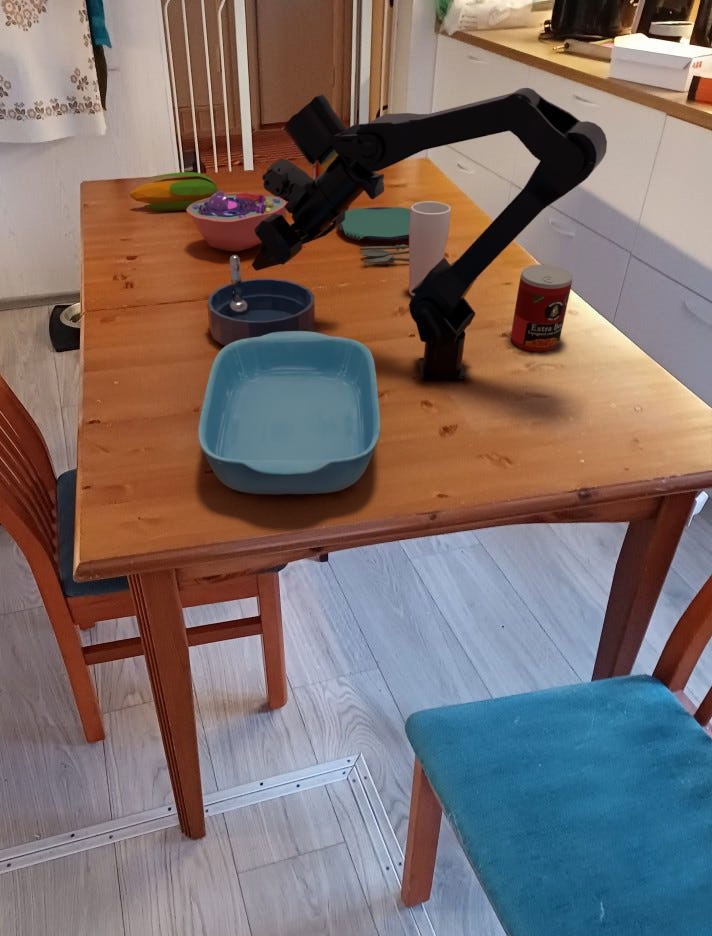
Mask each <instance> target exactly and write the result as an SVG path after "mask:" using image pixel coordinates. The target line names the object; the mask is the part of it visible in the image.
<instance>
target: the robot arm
mask: <svg viewBox="0 0 712 936" xmlns="http://www.w3.org/2000/svg"><path fill="white" fill-rule="evenodd" d="M283 130H284V132H285V133H286V134H287V135H288V137H289V138H290V140H291V141H292V142H293V144H294V145H295V146H296V147H297V149H298V150H299V152H300V153H301V154H302V155H303V157H304V158H305V159H306V161H307V162H308V163H309V164H310V165H312V166H313V165H314V164H315V163H316V162H317V161H318V162H319V164H320V165H323V164H325V163H326V162H327V161H329V160H330V159H331V158H332V157H333V156H334V155H335V154H336V153H337V154H338V156H337V157H336V158H335V159H334V161H333V162H332V163H331V164H330V165H329V166H328V167H327V168H326V169H325V170H324V171H323V172H322V173H321V175H320V176H318V177H317V178H316V179H315V180H314V179H313V177H311V176H310V175H309V174H308V173H307V172H306V171H305V170H303V169H301V168H300V167H299V166H297V165H295V164H294V163H293V162H291V161H290V160H289V159H285V158H281V159H279V160H277V161H275V162H273V163H271V164H270V165H269V167H268V168H267V169H266V172H265V173H264V174H262V176H261V179H262V180H263V182H262V183H263V184H262V185H263V188H264V190H265V191H267V192H268V193H270V194H271V195H272V196H275V197H279V198H282V199H283V200H285V202H286V205H285V206H284V207H285V209H286V212H288V214H291V219H292V221H293V223H291V224H290V223H289V222H288V221H287V219H285V218H284V217H283V216H282V215H280V214H272V215H271V216H269V217H267V218H266V219H264V220H262V221H261V222H260V223H259V225H258V226H257V227H256V228H255V234H256V235H257V236H258V238H259V239H260V240H261V244H259V245H260V246H259V248H258V250H257V253H256V255H255V257H254V259H253V261H252V264H251V266H252V268H253V269H254V270H255V271H256V272H257V271H261V270H264V269H267V268H271V267H275V266H279V265H282V266H283V265H285V264H286V263H288V262H289V261H291V260H292V259H293V258H294V257H296V256H297V255H298V254H299V253H301V251H302V250H303V245H305V244H307V243H311V242H313V241H315V240H319V239H320V238H324V237H325V236H327V235H328V234H330V233H331V232H333V231H334V230H335V229H337V228H339V227H338V226H339V225H340V224H341V223H342V222H343V221H344V220H345V212H346V211H348V210H350V206H351V205H352V204H353V203H354V201H356V200H357V198H359V197H360V195H362V194H363V193H364V192H365V193H366V194H367V196H368V198H370V200H375V199H376V198H378V197H379V196H381V195H382V194H384V192H385V183H384V180H385V174H384V173H379V171H382V170H384V169H387V168H388V167H391V166H393V165H395V164H398V163H400V162H402V161H405V160H406V159H408V158H410V157H412V156H414V155H416V154H418V153H421V152H423V151H426V150H430V149H435V148H439V147H443V146H444V147H445V146H448V145H452V144H456V143H461V142H465V141H470V140H474V139H480V138H483V137H488V136H492V135H497V134H502V133H505V132H510V133H512V134H513V135H514V136H516V137H517V138H518V140H519V141H520V142H521V143H522V144H523V146H524V147H525V148H526V149H527V150H528V151H529V152H530V154H531V155H532V156H533V157H534V158H536V159H537V160H538V161H539V162H538V164H537V165H536V167H535V168H534V170H533V171H532V174H531V176H530V177H529V178H528V180H527V182H526V183H525V186H524V187H523V188H522V190H520V192H519V193H518V194H517V195H516V196H515V197H514V198H513V199H512V200H511V201H510V202H509V204H508V205H507V206H506V207H505V208H504V209H503V210H502V211H501V212H500V214H499V215H497V217H496V218H495V219H494V220H493V221H492V222H491V223H490V224H489V225H488V226H487V228H485V230H484V231H483V232H481V234H480V235H479V236H478V237H477V238H476V239H475V240H474V241H473V242H472V244H471V245H470V246H469V247H468V248H467V249H466V250H465V251H464V252H463V253H462V255H460V256H459V258H457V259H456V260H455V261H453V262H452V263H450V262H449V261H448V260H447V258H446V257H445V256H444V258H443V259H442V260H441V261H440V262H439V263H438V264H437V265H436V266H435V267H433V268H432V269H431V270H430V271H429V273H428V274H427V276H426V277H425V278H424V279H423V280H422V281H421V282H420V283H419V284H418V285H417V286H416V287H415V288H414V289H413V290H412V291H411V292H412V293H415V295H414V296H412V297H411V298H410V300H409V303H408V308H409V313H410V316H411V319H412V320H413V322H415V325H416V328H417V332H418V337H419V341H420V342H421V343H422V342H423V343H424V350H423V351H424V352H423V357H419V358H418V366H419V371H420V377H421V380H422V381H424V382H447V381H449V382H454V381H455V382H457V381H458V382H461V381H462V382H464V381H466V380H467V375H466V371H465V367H464V365H463V357H464V349H465V341H466V331H465V330H466V329H467V328H468V327H469V326H470V325H471V323H472V322H473V320H474V318H475V316H476V312H475V310H474V308H472V306H471V305H470V303H469V302H468V301H467V299H466V298H465V297H466V296H467V294H468V293H469V291H470V290H471V288H472V286H473V285H474V283H475V282H476V280H477V278H478V277H479V276H480V275H481V274H482V273H483V272H484V271H485V270H486V269H487V268H488V267H489V266H490V265H491V264H492V263H493V262H494V261H495V260H496V259H497V258H498V256H499V255H501V254H502V253H503V252H504V250H505V249H506V248H507V247H508V246H509V245H510V244H511V243H512V242H513V241H514V240H515V239H516V238H517V237H518V236H519V235H520V234H521V233H522V232H523V231H524V230H525V229H526V228H527V227H528V225H530V224H531V222H533V221H534V220H535V218H536V217H537V216H539V214H541V212H542V211H544V210H545V209H546V208H547V207H549V206H550V205H552V204H554V203H555V202H557V201H558V200H559V199H561V198H563V197H564V196H566V195H567V194H569V192H571V191H573V190H574V189H575V188H576V187H578V186H579V185H581V184H582V183H584V181H586V180H587V179H588V178H589V176H590V175H591V174H592V173H593V172H594V171H595V170H596V169H597V167H598V166H599V165H600V164H601V162H602V161H603V160H604V158H605V156H606V154H607V149H608V148H607V147H608V140H607V137H606V134H605V132H604V130H603V129H602V127H601V126H599V125H598V124H596V123H595V122H592V121H587V120H586V121H581V120H580V119H578V118H577V117H576V116H575V115H573V113H570V112H569V111H567V110H566V109H564V108H561V107H560V106H558V105H556V104H554V103H552V102H550V101H548V100H547V99H545V98H544V97H543V96H542V95H540V94H539V93H538V92H537V91H536V90H535V89H533V88H530V87H521V88H518V89H517V90H515V91H513V92H510V93H506V94H503V95H499V96H494V97H491V98H487V99H483V100H478V101H474V102H471V103H466V104H462V105H459V106H458V105H457V106H455V107H450V108H446V109H443V110H438V111H434V112H430V113H413V112H412V113H411V112H405V113H404V112H402V113H399V112H398V113H386V114H383V115H380V116H379V117H376V118H375V119H372V120H371V121H369V122H367V123H354V124H353V125H351V126H349V127H346V125H345V124H344V123H343V122H342V120H341V119H340V117H339V116H338V114H337V113H336V112H335V110H334V109H333V108H332V106H331V104H330V102H329V100H328V99H327V97H326V96H325V95H324V94H323V93H321V94H318V95H316V96H314V97H313V98H312V99H311V101H310V102H308V103H307V104H306V105H304V106H303V107H302V108H301V109H300V110H299V111H298V112H297V113H295V114H293V115H292V116H291V117H290V118H289V120H288V121H287V122H286V123H285V126H284V128H283Z"/></svg>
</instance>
